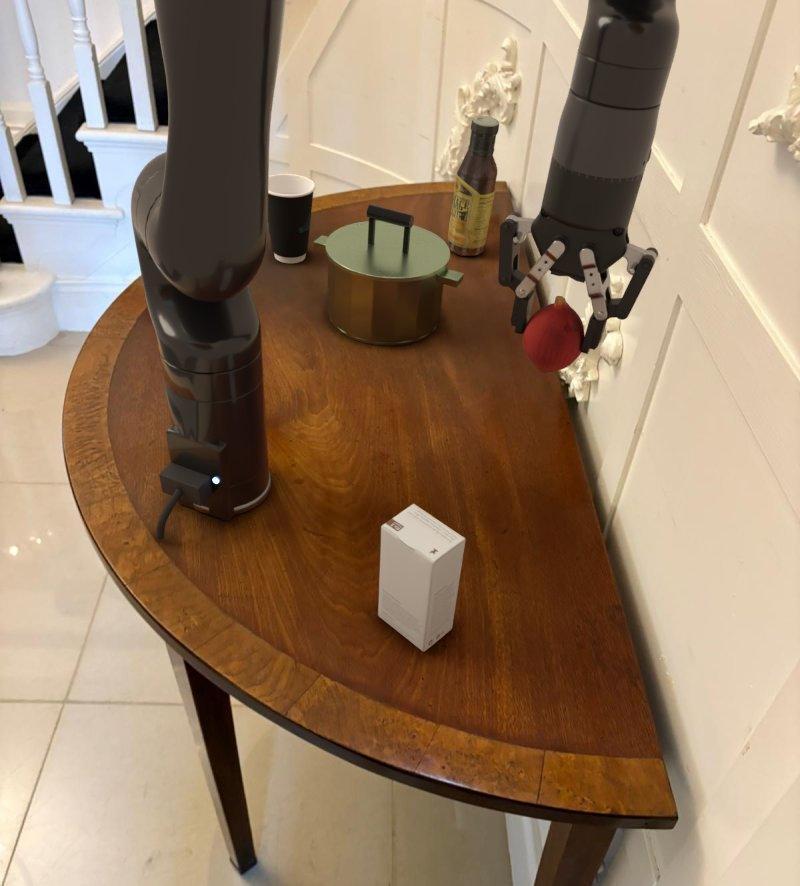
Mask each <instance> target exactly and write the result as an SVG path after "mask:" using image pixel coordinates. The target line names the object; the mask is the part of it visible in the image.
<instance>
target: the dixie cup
mask: <svg viewBox="0 0 800 886" xmlns="http://www.w3.org/2000/svg"><path fill="white" fill-rule="evenodd" d="M316 187H317V186H316V183H315V182H314V181H313V180H312V179H311V178H309V177H306V176H304V175H300V174H294V173H278V174H272V175H268V232H269V238H270V245H271V250H272V252H273V256H274V258H275V260H277V261H279V262H280V263H283V264H298V263H300V262H303V261H304V260H305V259H306V255H307V253H308V249H309V240H310V229H311V219H312V210H313V200H314V199H313V198H314V192H315V190H316Z"/></svg>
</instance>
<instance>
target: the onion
mask: <svg viewBox="0 0 800 886" xmlns="http://www.w3.org/2000/svg"><path fill="white" fill-rule="evenodd" d="M554 299H555V300H554V302H553V303H549V304H547V305H545V306H543V307H541V308H539V309H538V310H537V311H536V312H534V313H533V314H532V316H530V317H529V321H528V322H527V324H526V326H525V328H524V331H523V334H522V347H523V350H524V353H525V355H526V356H527V358H528V359H529V360H530V361H531V362H532V364H534V366H535V367H536V368H537V369H538V371H540V372H541V373H543V374H548V373H555V372H558V371H562V370H564V369H566V368H568V367H569V366H571V365H572V364H573V363H574V362H575V361H576V360H577V359H578V358H579V357H580V356H581V355H582V352H581V348H582V344H583V341H584V337H585V327H584V326H585V325H584V323H583V320H582V318H581V317H580V315H579V314H578V312H577V311H576V310H574V308H572V306H570V304H569V303H568V302H567V300H566V298H565V297H563V295H562V296H561V295H557V296H555V298H554Z"/></svg>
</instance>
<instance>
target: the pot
mask: <svg viewBox="0 0 800 886" xmlns="http://www.w3.org/2000/svg"><path fill="white" fill-rule="evenodd" d="M328 237H329V236H327V235H323V234H322V235H320V236H319V237H317V238H316V239H315V240H313V249H315V250H320V251H322V252H326V251H325V244H326V240H327V238H328ZM327 258H328V257H327ZM464 274H465V273H464V272H460V271H457V270H453V269H449V268H447V267H446V268H445V269H443V270H442V271H441V272H439V273H438V274H436V275H434V276H431V277H428V278H425V279H421V280H416V281H409V282H383V281H376V280H370V279H366V278H361V277H358V276H355V275H352V274H350V273H348V272H345V271H344V270H342V269H340V268H338V267H337V266H336V265H334V264H333V263H332V262H331V261H330V260H329V258H328V259H327V315H328V320H329V321H330V324H331V325H332V327H333V328H334V329H335V330H337V332H339V333H340V334H342V335H344V336H346V337H347V338H349V339H352V340H354V341H357V342H360V343H364V344H367V345H374V346H381V347H382V346H383V347H398V346H399V347H400V346H405V345H411V344H415V343H418V342H420V341H424V340H425V339H426V338H428V337H430V336H431V335H432V334H434V332H435V331H436V329H437V328H438V325H439V323H440V319H441V318H440V317H441V310H442V301H443V293H444V286H449V287H453V288H458V286H460V284H461V283H462V282H463V281H464Z"/></svg>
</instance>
